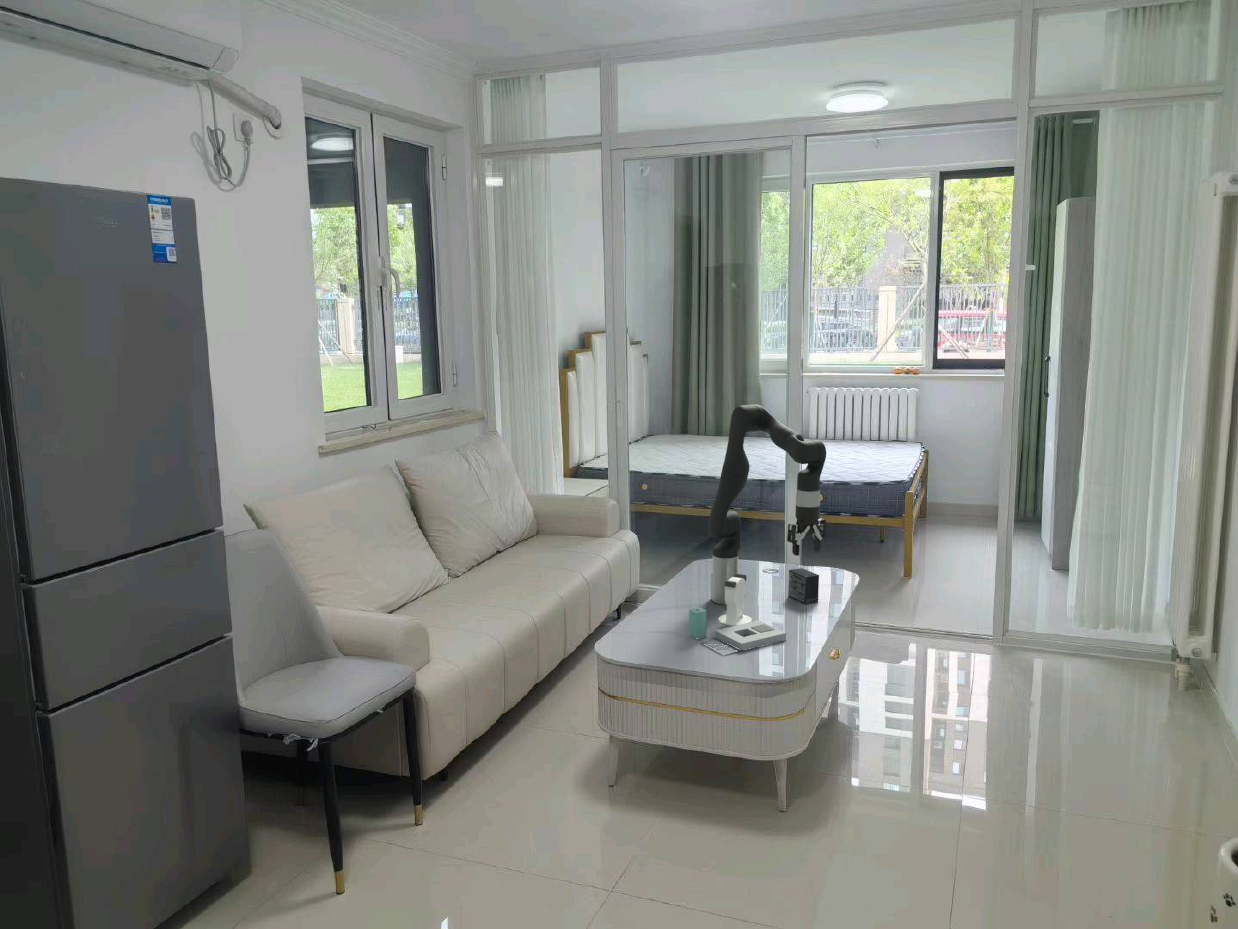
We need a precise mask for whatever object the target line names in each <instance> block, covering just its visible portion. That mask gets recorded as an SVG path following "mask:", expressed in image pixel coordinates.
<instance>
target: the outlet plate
mask: <svg viewBox="0 0 1238 929" xmlns="http://www.w3.org/2000/svg"><path fill="white" fill-rule="evenodd" d="M714 638H715V639H717V638H718V639H717V640H719V639H720V640H722V641H724V642H726V643H728V644H731V645H733V646H735V647H737V648H739V649H740V650H745V649H749V648H753V647H757V646H761V647H763V646H762V645H765V646H767V645H766V644H769V645H772V644H776V643H781V642H784V640H785V641H787V632H785V631H783V630H781V629H779V628H776V627H774V626H772V625H771V624H768V623H766V622H763V621H761V620H754V621H753V620H752V622H749V623H744V624H740V625H736V626H729V627H728V626H727V627H724V628H718V629H715V630H714ZM720 640H719V641H720ZM722 641H721V642H722ZM780 641H781V642H780ZM724 642H723V643H724ZM726 643H725V644H726ZM728 644H727V645H728ZM757 648H758V647H757ZM753 649H754V648H753ZM740 650H739V651H740ZM749 650H750V649H749ZM745 651H746V650H745Z"/></svg>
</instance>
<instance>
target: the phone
mask: <svg viewBox="0 0 1238 929" xmlns="http://www.w3.org/2000/svg"><path fill="white" fill-rule="evenodd" d="M701 643H702V644H706V645H707V644H713V645H711V646H710V645H708V646H710V647H712V648H716V647H718V646H724V645H726V643H724V642H722V641H720V640H719V639H717V638H715V639H710V640H707V641H706V640H705V641H702V642H700V644H701ZM702 644H701V645H702ZM714 644H717V645H715V646H714ZM718 644H719V645H718ZM722 644H723V645H722ZM726 647H727V646H725V647H724V648H723V647H721V648H719V647H718V648H719V649H718V648H717V649H716V650H730V649H729V648H730V645H729V646H728V647H727V648H726ZM722 648H723V649H722ZM732 650H733V649H732ZM734 650H737V649H736V648H735V649H734Z"/></svg>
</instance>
